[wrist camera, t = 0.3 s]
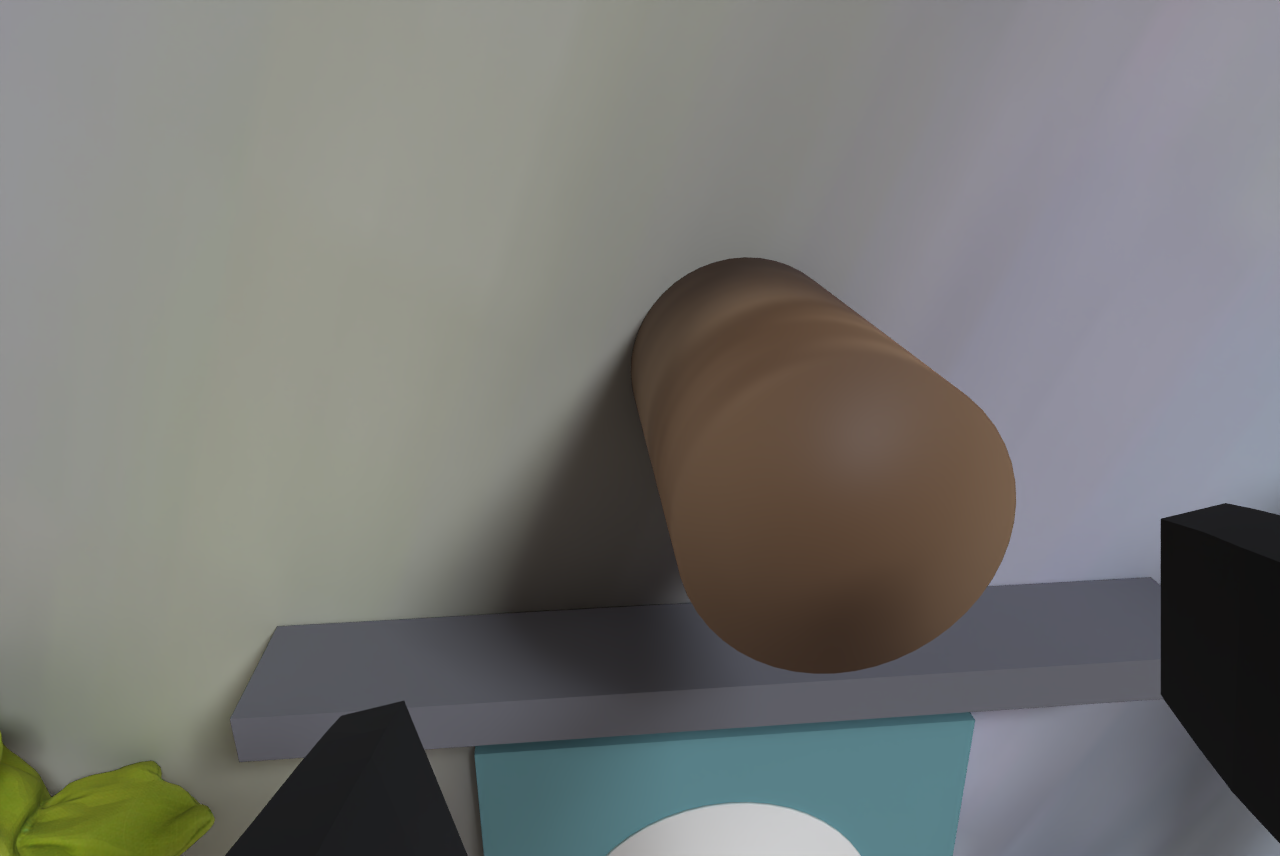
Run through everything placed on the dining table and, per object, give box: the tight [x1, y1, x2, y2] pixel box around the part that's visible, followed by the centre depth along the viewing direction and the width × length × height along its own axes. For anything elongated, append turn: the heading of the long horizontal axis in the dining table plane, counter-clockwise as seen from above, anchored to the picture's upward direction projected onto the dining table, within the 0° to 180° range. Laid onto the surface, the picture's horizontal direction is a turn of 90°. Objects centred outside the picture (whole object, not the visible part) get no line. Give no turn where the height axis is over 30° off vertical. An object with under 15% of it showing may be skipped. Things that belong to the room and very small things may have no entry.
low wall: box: [230, 577, 1164, 762], centre depth 19 cm, size 20×1×3 cm, turn 90°
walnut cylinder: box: [631, 258, 1016, 674], centre depth 15 cm, size 4×4×7 cm
